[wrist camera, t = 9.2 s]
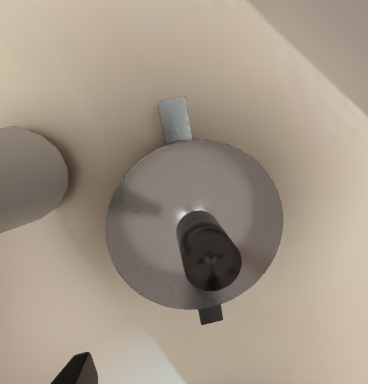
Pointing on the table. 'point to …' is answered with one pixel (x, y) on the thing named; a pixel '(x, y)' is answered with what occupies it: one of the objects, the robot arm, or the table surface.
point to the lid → (194, 224)
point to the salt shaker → (28, 177)
